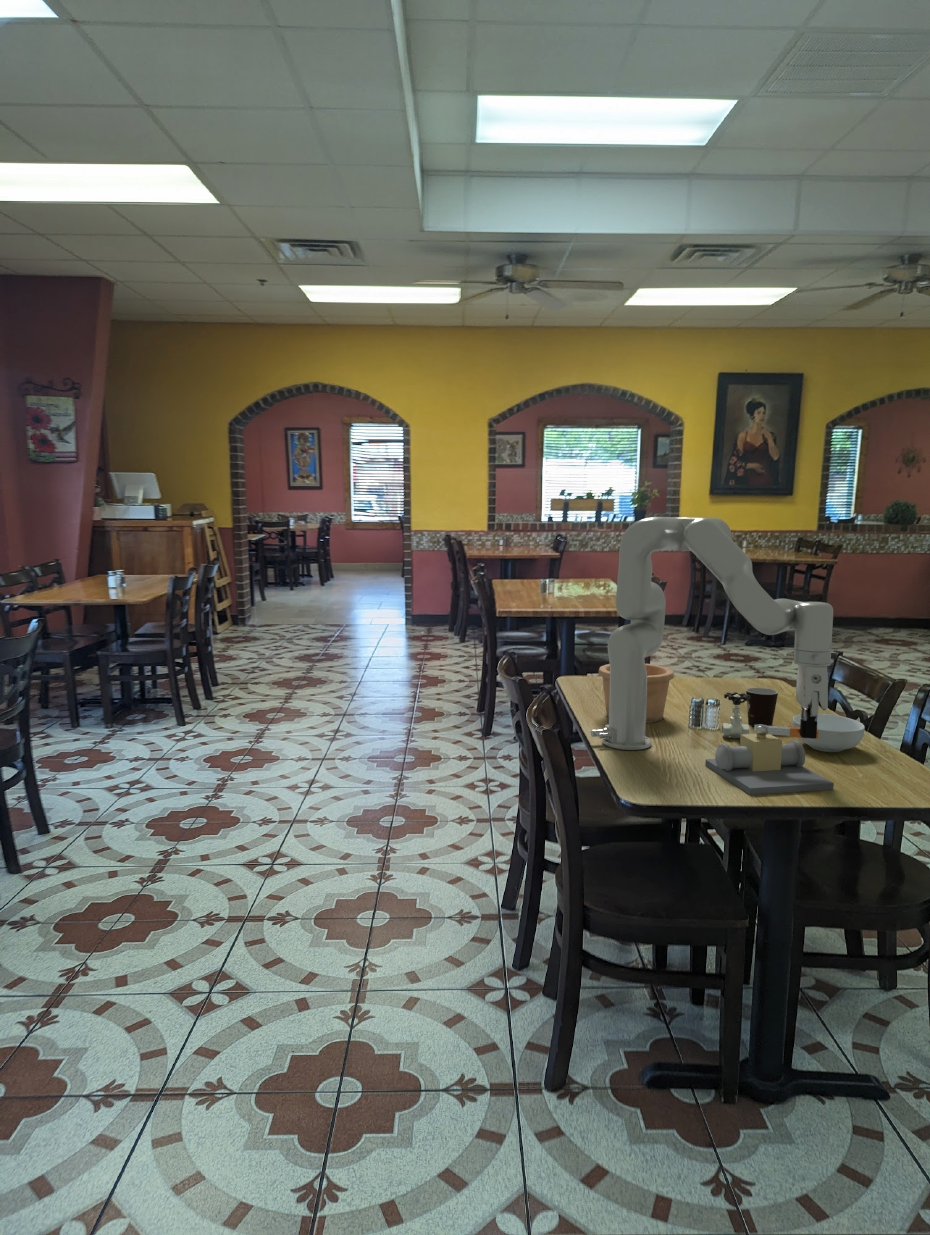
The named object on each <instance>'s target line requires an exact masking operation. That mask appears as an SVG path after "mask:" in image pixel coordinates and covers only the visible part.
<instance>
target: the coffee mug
mask: <svg viewBox="0 0 930 1235" xmlns="http://www.w3.org/2000/svg"><path fill="white" fill-rule="evenodd" d="M745 694H746V695H750V699H748V701H746V707H747V708H746V709H747V711H746V712H747V721H748V722H747V724H748V725H749V727H750V726H751V727H753V728H754V727H755V725H757V724H761V725H767V726H773V722H774V717H775V712H776V706H777V700H778V695H779V691H778V690H776V689H774V688H773V689H771V688H768V687H767V688H765V687H748V688H746V689H745Z"/></svg>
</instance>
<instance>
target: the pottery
mask: <svg viewBox="0 0 930 1235" xmlns="http://www.w3.org/2000/svg"><path fill="white" fill-rule="evenodd" d="M645 666H646V671H647V703H646V724H654V723H658V722H660V721H662V720H663V719H664V713H665V707H666V701H667V698H668V697H667V696H668V691H669V686H670V680H673V679H674V677H675V675H674V674H675V670H673V669H671V668H669V667H667V666H663V665H659V664H652V663H645ZM598 675H599V676H600V677H601V678H602V685H603V695H604V703H605V711H606V712H605V715H606V716H607V717H608V718H609V701H610V663H608V664H604V665H601V666H599V669H598Z"/></svg>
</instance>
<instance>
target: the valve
mask: <svg viewBox="0 0 930 1235" xmlns="http://www.w3.org/2000/svg"><path fill="white" fill-rule="evenodd" d="M723 699H727V700H728V701H731V702H732V705H734V707H732V713H733V714H732V716H730V717H729V721H730V723H729V722H728V723H726V722H723V723H722V724H721V736H722V737H724V738H729V737H730V738H731V739H740V737H741V734H750V725H749V724H748V723H747V724H745V723H742V721H743V718H742V717H741V716H740V714H741V708H740V707H739V706H740V705H741V704H744V703H745V702H747V701H748V699H750V695H746V692H745V693H744V692H743V693H738V692H737V691H734V692H733V693H731V692H726V693H724V694H723Z"/></svg>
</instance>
